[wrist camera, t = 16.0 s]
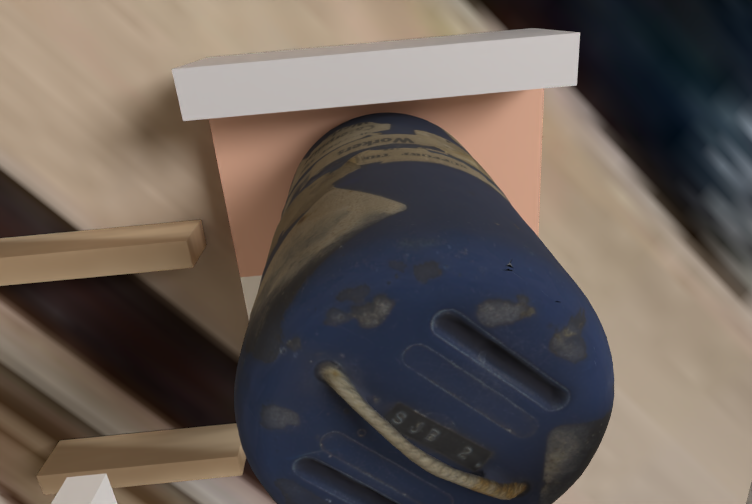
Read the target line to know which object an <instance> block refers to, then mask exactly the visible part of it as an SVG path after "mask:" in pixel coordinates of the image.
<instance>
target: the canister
mask: <svg viewBox="0 0 752 504" xmlns="http://www.w3.org/2000/svg"><path fill="white" fill-rule="evenodd" d="M613 400H614V373H613V362H612V356H611V352H610V348H609V345H608V341H607V337H606V335H605V332H604V330H603V327H602V325H601V323H600V320H599V318H598V316H597V314H596V312H595V311H594V309H593V307H592V306H591V304H590V302H589V300H588V299H587V297H586V296H585V295H584V293H583V292H582V291H581V289H580V288H579V287H578V285H577V284H576V283H575V282H574V280H573V279H572V278H571V277H570V276H569V274H568V273H567V272H566V271H565V270H564V268H563V267H562V266H561V265H560V264H559V262H558V261H557V260H556V259H555V257H554V256H553V255H552V254H551V252H550V251H549V250H548V249H547V247H546V246H545V245H544V244H543V242H542V241H541V240H540V239H539V237H538V236H537V235H536V234H535V232H534V231H533V230H532V229H531V228H530V227H529V226H528V225H527V223H526V222H525V221H524V220H523V219H522V217H521V216H520V215H519V214H518V212H517V211H516V210H515V209H514V208H513V206H512V205H511V203H510V202H509V200H508V199H507V197H506V196H505V194H504V193H503V192H502V191H501V189H500V188H499V187H498V186H497V185H496V183H495V182H494V181H493V179H492V178H491V177H490V176H489V175H488V173H487V172H486V171H485V170H484V169H483V168H482V166H481V165H480V164H479V163H478V162H477V161H476V160H475V159H474V158H473V157H472V156H471V155H470V154H469V152H468V151H467V150H466V149H465V148H464V147H463V146H462V145H461V144H460V143H459V142H458V141H457V140H456V139H455V138H454V137H453V136H452V135H450V134H449V133H448V132H447V131H445V130H444V129H442V128H441V127H439V126H437V125H435V124H433V123H431V122H429V121H427V120H424V119H422V118H419V117H416V116H412V115H408V114H402V113H392V112H385V113H373V114H368V115H363V116H360V117H356V118H353V119H351V120H348V121H346V122H344V123H342V124H340V125H338V126H337V127H335V128H333V129H331V130H330V131H328V132H327V133H326V134H325V135H323V136H322V137H321V138H320V139H319V140H318V141H317V142H316V143H315V144H314V145H313V146H312V147H311V148H310V149H309V151H308V152H307V153H306V155H305V156H304V158H303V159H302V161H301V162H300V164H299V166H298V168H297V170H296V173H295V175H294V178H293V181H292V183H291V187H290V190H289V194H288V197H287V200H286V203H285V206H284V209H283V211H282V214H281V220H280V222H279V224H278V226H277V228H276V231H275V233H274V236H273V239H272V243H271V246H270V250H269V254H268V257H267V261H266V265H265V268H264V271H263V274H262V277H261V281H260V286H259V289H258V293H257V296H256V299H255V302H254V305H253V308H252V310H251V313H250V318H249V323H248V327H247V330H246V334H245V338H244V341H243V345H242V349H241V353H240V357H239V361H238V365H237V371H236V378H235V386H234V409H235V418H236V424H237V428H238V433H239V437H240V442H241V445H242V449H243V451H244V453H245V455H246V458H247V460H248V462H249V464H250V466H251V468H252V470H253V472H254V473H255V475H256V477H257V478H258V480H259V481H260V482H261V484H262V485H263V487H264V488H265V489H266V491H267V492H268V493H269V495H270V496H271V497H272V499H273V500H274V501H275V502H276V503H277V504H552V503H553V502H555V501H556V500H557V499H558V498H559V497H560V496H561V495H563V494H564V493H565V492H566V491H567V490H568V489H569V488H570V487H571V486H572V485H573V484H574V483H575V481H576V480H577V479H578V478H579V477H580V476H581V475H582V473H583V472H584V470H585V469H586V468H587V466H588V465H589V463H590V461H591V459H592V458H593V456H594V454H595V452H596V451H597V449H598V447H599V445H600V443H601V440H602V438H603V436H604V433H605V431H606V428H607V426H608V422H609V419H610V416H611V412H612V407H613Z"/></svg>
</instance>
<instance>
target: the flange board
mask: <svg viewBox="0 0 752 504" xmlns="http://www.w3.org/2000/svg"><path fill="white" fill-rule="evenodd" d="M579 41H580V33H579V32H568V31H558V30H547V29H537V28H529V29H518V30H507V31H496V32H484V33H473V34H462V35H451V36H440V37H429V38H417V39H406V40H395V41H384V42H373V43H361V44H350V45H339V46H328V47H317V48H306V49H294V50H283V51H272V52H261V53H250V54H239V55H227V56H216V57H207V58H204V59H201V60H198V61H195V62H192V63H189V64H186V65H183V66H180V67H177V68H174V69H172V73H173V77H174V82H175V87H176V91H177V96H178V100H179V105H180V110H181V114H182V119H183V121H189V120H200V119H209V123H210V128H211V133H212V138H213V143H214V148H215V153H216V158H217V163H218V168H219V173H220V178H221V183H222V188H223V193H224V198H225V203H226V208H227V213H228V218H229V223H230V228H231V233H232V238H233V243H234V248H235V253H236V258H237V264H238V269H239V274H240V279H241V284H242V289H243V294H244V299H245V304H246V309H247V314H248V319H249V318H250V313H251V310H252V308H253V305H254V302H255V299H256V296H257V293H258V289H259V286H260V281H261V277H262V274H263V271H264V268H265V265H266V261H267V257H268V254H269V250H270V246H271V243H272V239H273V236H274V233H275V231H276V228H277V226H278V224H279V222H280V220H281V214H282V211H283V209H284V206H285V203H286V200H287V197H288V194H289V190H290V187H291V183H292V181H293V178H294V175H295V173H296V170H297V168H298V166H299V164H300V162H301V161H302V159H303V158H304V156H305V155H306V153H307V152H308V151H309V149H310V148H311V147H312V146H313V145H314V144H315V143H316V142H317V141H318V140H319V139H320V138H321V137H322V136H323V135H325V134H326V133H327V132H328V131H330V130H331V129H333V128H335V127H337V126H338V125H340V124H342V123H344V122H346V121H348V120H351V119H353V118H356V117H360V116H363V115H368V114H373V113H385V112H392V113H402V114H408V115H412V116H416V117H419V118H422V119H424V120H427V121H429V122H431V123H433V124H435V125H437V126H439V127H441V128H442V129H444V130H445V131H447V132H448V133H449V134H450V135H452V136H453V137H454V138H455V139H456V140H457V141H458V142H459V143H460V144H461V145H462V146H463V147H464V148H465V149H466V150H467V151H468V152H469V154H470V155H471V156H472V157H473V158H474V159H475V160H476V161H477V162H478V163H479V164H480V165H481V166H482V168H483V169H484V170H485V171H486V172H487V173H488V175H489V176H490V177H491V178H492V179H493V181H494V182H495V183H496V185H497V186H498V187H499V188H500V189H501V191H502V192H503V193H504V194H505V196H506V197H507V199H508V200H509V202H510V203H511V205H512V206H513V208H514V209H515V210H516V211H517V212H518V214H519V215H520V216H521V217H522V219H523V220H524V221H525V222H526V223H527V225H528V226H529V227H530V228H531V229H532V230H533V231H534V232H535V234H536V235H537V236H538V232H539V207H540V181H541V155H542V129H543V104H544V88H553V87H564V86H575V85H577V74H578V57H579Z"/></svg>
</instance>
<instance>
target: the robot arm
mask: <svg viewBox="0 0 752 504" xmlns="http://www.w3.org/2000/svg"><path fill="white" fill-rule="evenodd" d="M51 504H117V501H116V498H115V496H114V493H113V490H112V487H111V485H110V482H109V479H108V477H107V474H106V473H105V474H95V475H85V476H75V477H67V478H66V480H65V481H64V483H63V485H62V486H61V488H60V490H59V491H58V493H57V495H56V496H55V498H54V500H53V501H52V503H51ZM746 504H752V482H751V486H750V490H749V494H748V498H747V502H746Z"/></svg>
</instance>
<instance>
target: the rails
mask: <svg viewBox="0 0 752 504" xmlns="http://www.w3.org/2000/svg"><path fill="white" fill-rule="evenodd" d="M206 245H207V244H206V240H205V235H204V231H203V226H202V222H201V220H192V221H182V222H171V223H160V224H149V225H139V226H128V227H117V228H106V229H96V230H85V231H74V232H64V233H53V234H42V235H31V236H21V237H10V238H0V286H4V285H15V284H26V283H36V282H47V281H57V280H68V279H79V278H89V277H100V276H110V275H121V274H132V273H142V272H153V271H164V270H174V269H185V268H193V267H194V265H195V264H196V262H197V260H198V259H199V257H200V255H201V254H202V252H203V250H204V249H205V247H206ZM245 460H246V455H245V453H244V451H243V449H242V445H241V442H240V437H239V433H238V428H237V424H236V423H234V424H224V425H213V426H203V427H193V428H183V429H172V430H162V431H152V432H142V433H132V434H121V435H111V436H101V437H91V438H81V439H70V440H60V441H59V442H58V444H57V445H56V447H55V448H54V450H53V451H52V453H51V454H50V456H49V457H48V459H47V460H46V462H45V463H44V465H43V466H42V468H41V469H40V471H39V472H38V474H37V476H36V477H37V480H38V482H39V484H40V487H41V489H42V491H43V494H44V495H48V494H57V493H58V491H59V490H60V488H61V486H62V485H63V483H64V481H65V480H66V478H67V477H75V476H85V475H95V474H105V473H106V474H107V477H108V479H109V482H110V485H111V487H112V488H118V487H129V486H139V485H149V484H159V483H169V482H179V481H189V480H199V479H209V478H219V477H229V476H240V475H242V473H243V469H244V464H245Z"/></svg>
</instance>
